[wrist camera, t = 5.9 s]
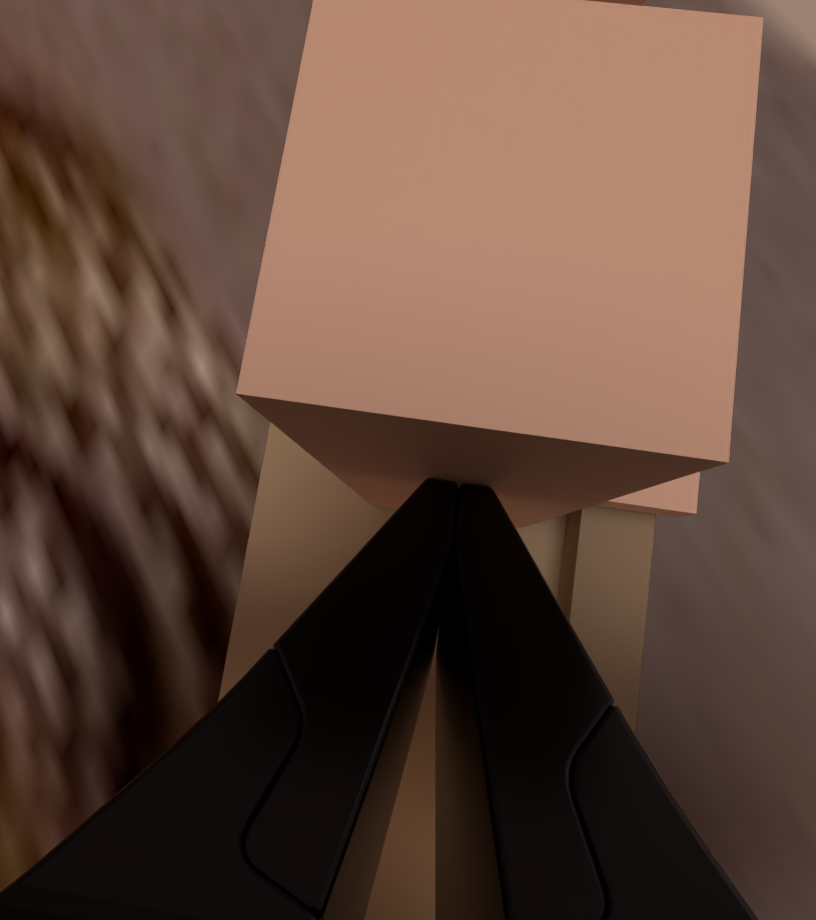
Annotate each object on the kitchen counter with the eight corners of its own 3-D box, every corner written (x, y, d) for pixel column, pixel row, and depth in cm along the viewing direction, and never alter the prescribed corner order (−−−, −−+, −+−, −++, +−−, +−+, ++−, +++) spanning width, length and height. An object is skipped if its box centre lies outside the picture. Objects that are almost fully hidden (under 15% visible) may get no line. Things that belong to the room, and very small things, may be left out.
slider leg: (645, 545, 14) (1150, 521, 4) (370, 504, 14) (236, 393, 5) (660, 395, 15) (1140, 55, 5) (394, 359, 15) (318, -27, 5)
